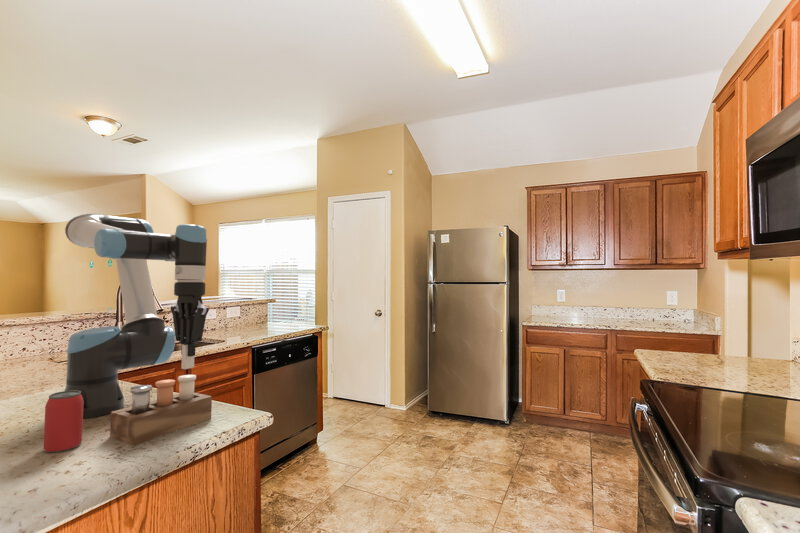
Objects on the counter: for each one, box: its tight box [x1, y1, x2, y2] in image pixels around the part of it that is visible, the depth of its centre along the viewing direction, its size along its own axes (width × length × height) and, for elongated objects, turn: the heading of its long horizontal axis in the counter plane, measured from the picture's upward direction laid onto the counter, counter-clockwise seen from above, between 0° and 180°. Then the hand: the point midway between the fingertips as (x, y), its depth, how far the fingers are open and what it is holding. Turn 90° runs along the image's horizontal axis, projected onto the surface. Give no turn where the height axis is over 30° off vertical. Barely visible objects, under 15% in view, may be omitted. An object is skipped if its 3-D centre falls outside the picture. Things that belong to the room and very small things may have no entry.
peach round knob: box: [154, 379, 176, 408], centre depth 101 cm, size 4×4×7 cm
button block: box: [109, 392, 213, 446], centre depth 101 cm, size 10×20×6 cm, turn 154°
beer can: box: [42, 390, 84, 453], centre depth 88 cm, size 7×7×12 cm
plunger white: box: [177, 374, 197, 401], centre depth 106 cm, size 4×4×7 cm
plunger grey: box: [129, 384, 153, 415], centre depth 95 cm, size 4×4×7 cm
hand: (187, 367), depth 106 cm, fingers closed
